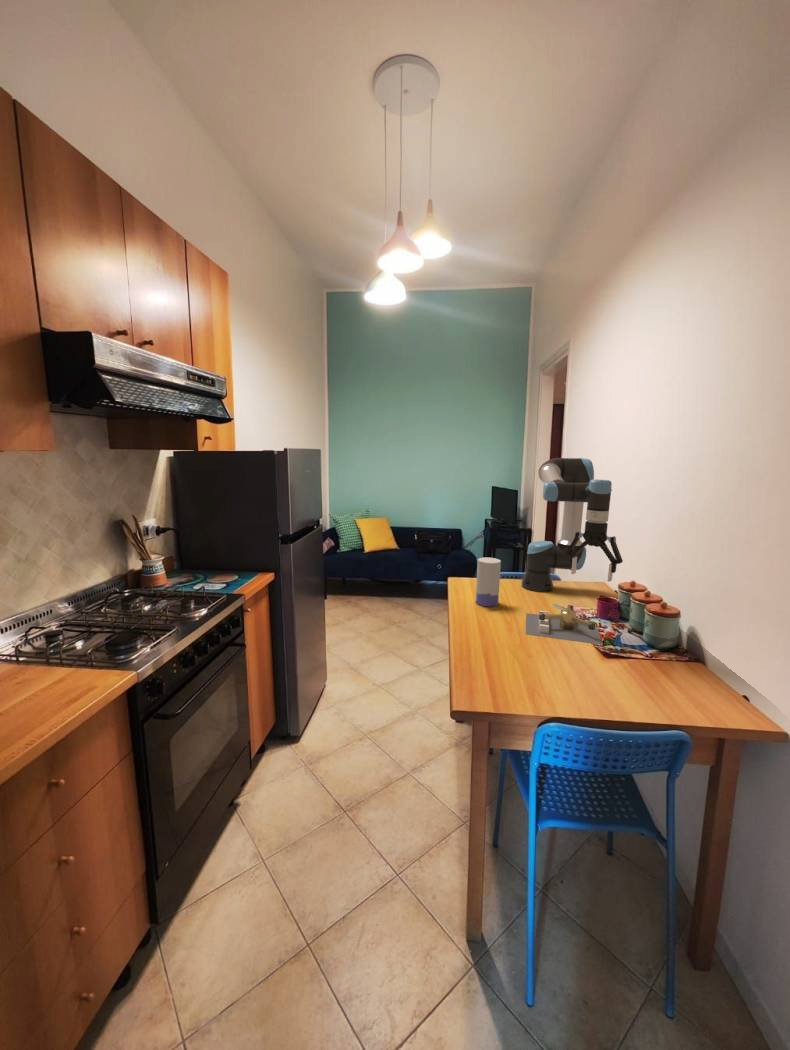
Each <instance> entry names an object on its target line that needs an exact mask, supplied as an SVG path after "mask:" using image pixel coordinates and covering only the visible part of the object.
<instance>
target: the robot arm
mask: <svg viewBox="0 0 790 1050" xmlns="http://www.w3.org/2000/svg"><path fill="white" fill-rule="evenodd" d="M538 478H539V480H541V482H542V483H543V487H542V498H543V500H544V501H547V502H563V503H564V504H563V517H562V526H561V536H560V539H559V540H557V543H556V544H554V543H553V542H552V541H550V540H548V541H547V540H537V541H532V542H530V543H529V544H528V546H527V552H526V554H527V559H526V566H525V567H526V568H525V573H524V575H523V577H522V580H521V587H522V588H523V589H525V590H527V591H533V592H539V593H540V592H541V593H542V592H543V593H544V592H546V593H547V592H551V591H553V589H554V583H553V582H554V581H553V578H552V574H551V570H552V569H558V570H569V571H570V573H571V575H574V574H576V573H577V571H579V570H581V569H582V568H583V567H584V564H585V563H586V558H587V548H586V546H587V545H588V546H591V547H593V546H594V547H596V548H598V547H599V548H600V549H601V550H602V551H603V552H604V555H605V556H606V557H607V558H608V560H609V562H610V563H609V564H608V571H607V582H612V580H613V574H614V573H616V571H617V565H619V564H622V563H623V557H622V555H621V552H620V550H619V547H618V544H617V536H608V534H607V533H608V525H609V524H608V523H607V522H608V521H609V513H610V506H611V505H610V504H611V497H612V496H611V495H612V491H613V490H612V487H613V485H612V484H613V483H612V481H611V480H610V479H609V480H608V479H595V470H594V465H593V462H592V460H591V459H588V458H582V457H578V458H577V457H576V458H575V457H573V458H572V457H569V458H568V457H567V458H566V457H554V458H550V459H548V460H547V461H545V462H543V463H542V464H541V465H540V466H539V469H538ZM585 503H587V504H586V506H587V507H586V514H585V520H586V521H585V523H584V532H582V524H583V512H584V504H585ZM582 537H583V539H584V541H583V542H582V540H581V538H582ZM607 541H608V543H610V547H611V550H612V552H611V550H610V549H609V547H608V545H607V543H606V542H607Z"/></svg>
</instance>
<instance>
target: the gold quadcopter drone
mask: <svg viewBox="0 0 790 1050" xmlns="http://www.w3.org/2000/svg"><path fill="white" fill-rule="evenodd" d="M552 608H556V609H557V610H560V613H559V614H558V613H557V614H556V613H555V614H553V613H552V614H551V613H549V614H543V613H540V614H539V613H538V615H539V620H545V619H560V627H561V628H564V629H574V624H575V622H576V623H578V624H581V625H584V626H586V627H588V628H589V629H591V630H595V625H596V623H593V622H587V621H588V620H586V621H585V619H582V618H579V617H576V614H577V613H576V612H575V610H574V605H570V604H568V605H567V607H564V606H561V605H558V604H555V603H552Z"/></svg>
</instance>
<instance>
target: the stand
mask: <svg viewBox="0 0 790 1050" xmlns="http://www.w3.org/2000/svg"><path fill="white" fill-rule="evenodd" d="M540 613H543V614H548V613H549V612H548V611H545V610H538V614H534V613H528V612H526V613H525V635H528V636H534V637H535V636H536V637H541V638H542V637H543V638H548V639H556V640H563V641H570V642H578V643H586V644H593V645H600V646H604V644H603V641H602V639H601V636H600V633H599V630H598V628H597V627H598V626H597V625H596V623H595V621H594V620H593V621H592V620H585V619H584V620H585V621H587V622H593V623H595V630H591V629H589V628H588V627H586V626H584V625H581V624H578V623H576V622H575V624H574V629H564V628H561V627H560V619H545V620H539V614H540Z"/></svg>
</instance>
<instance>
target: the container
mask: <svg viewBox="0 0 790 1050" xmlns="http://www.w3.org/2000/svg"><path fill="white" fill-rule="evenodd" d="M501 564H502V560H501V559H498V558H495V557H487V556H486V557H480V558H477V568H476V570H477V571H476V587H475V603H476V604H478V605H480V606H482V607H489V608H490V607H497V606H498V605H499V597H500V596H499V595H500V584H501V583H500V580H501Z"/></svg>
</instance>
